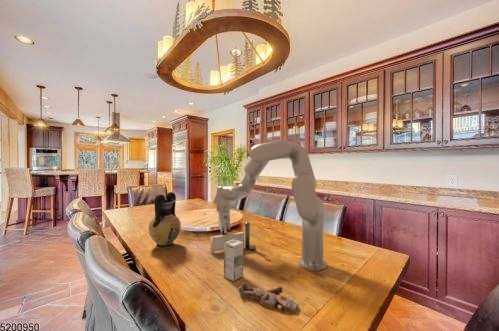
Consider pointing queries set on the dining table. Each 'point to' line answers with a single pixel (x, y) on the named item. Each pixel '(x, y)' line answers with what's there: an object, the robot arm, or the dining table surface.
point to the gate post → (248, 238)
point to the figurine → (269, 298)
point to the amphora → (164, 221)
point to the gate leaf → (225, 240)
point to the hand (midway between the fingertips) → (223, 241)
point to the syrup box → (233, 259)
